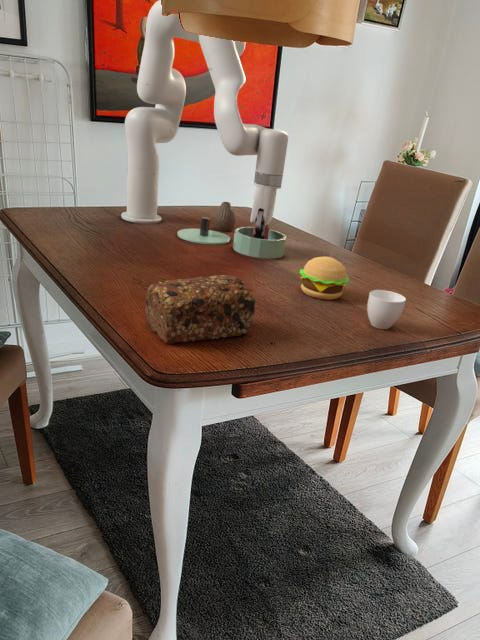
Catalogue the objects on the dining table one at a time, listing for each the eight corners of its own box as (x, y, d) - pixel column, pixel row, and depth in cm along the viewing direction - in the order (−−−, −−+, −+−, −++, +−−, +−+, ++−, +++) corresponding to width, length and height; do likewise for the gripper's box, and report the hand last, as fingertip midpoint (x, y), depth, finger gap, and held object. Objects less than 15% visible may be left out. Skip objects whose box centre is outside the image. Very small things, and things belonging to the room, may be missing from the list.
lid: (185, 229, 181) (187, 209, 178) (235, 238, 179) (237, 217, 176) (169, 240, 167) (171, 218, 164) (222, 250, 165) (225, 227, 162)
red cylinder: (252, 248, 169) (255, 223, 166) (267, 250, 169) (270, 226, 165) (249, 251, 166) (252, 226, 162) (264, 254, 165) (268, 228, 162)
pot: (239, 243, 175) (241, 224, 172) (286, 251, 173) (289, 232, 170) (227, 254, 162) (230, 234, 159) (278, 263, 160) (282, 243, 158)
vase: (211, 232, 182) (214, 203, 177) (213, 227, 188) (216, 199, 183) (233, 235, 182) (236, 206, 178) (234, 230, 188) (237, 201, 184)
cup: (374, 332, 123) (382, 302, 119) (351, 315, 130) (357, 286, 127) (404, 332, 125) (413, 302, 122) (380, 315, 133) (387, 286, 130)
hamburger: (355, 300, 140) (363, 264, 136) (317, 304, 134) (324, 267, 130) (324, 284, 149) (331, 250, 144) (286, 287, 143) (292, 251, 138)
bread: (227, 317, 120) (233, 269, 115) (253, 337, 112) (261, 287, 107) (142, 324, 111) (144, 273, 106) (164, 346, 104) (167, 292, 98)
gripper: (260, 174, 165) (251, 239, 174) (248, 181, 151) (239, 252, 160) (286, 178, 164) (276, 244, 174) (276, 186, 150) (266, 257, 159)
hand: (258, 247), depth 167 cm, fingers closed on red cylinder, 4 cm apart
